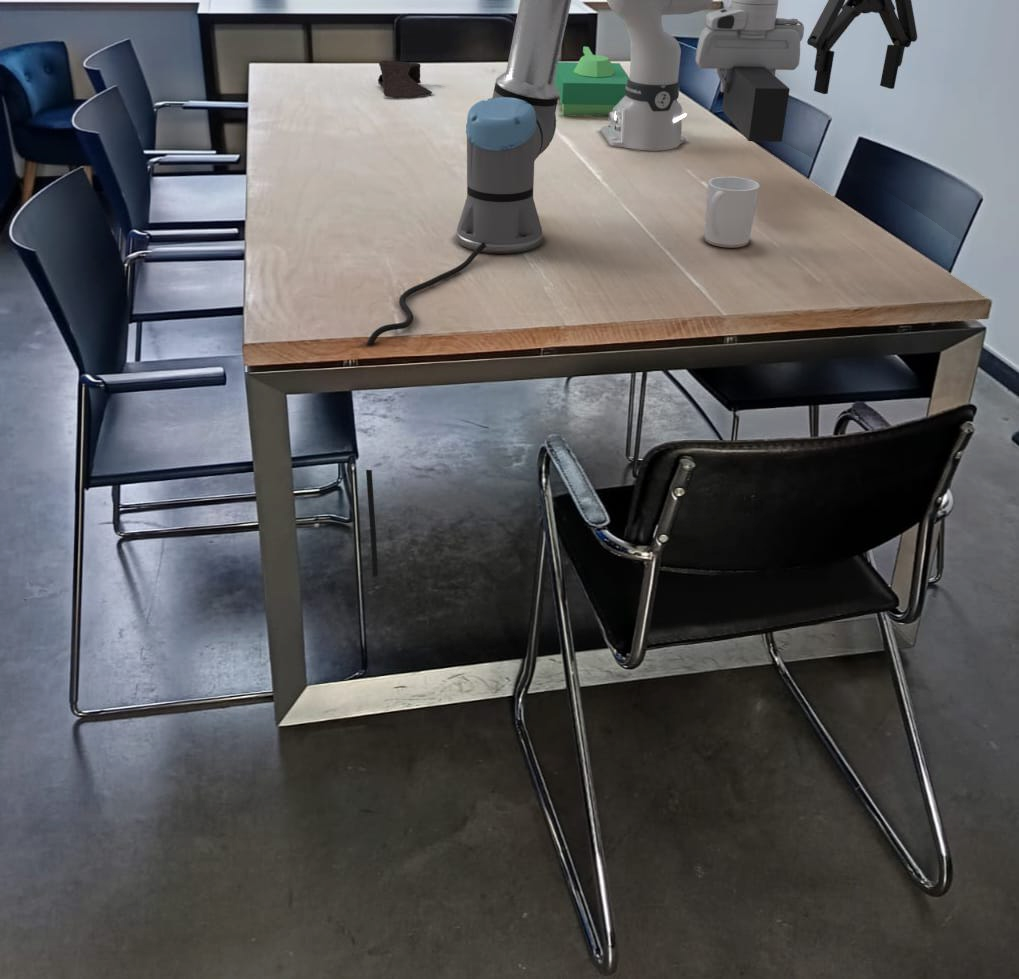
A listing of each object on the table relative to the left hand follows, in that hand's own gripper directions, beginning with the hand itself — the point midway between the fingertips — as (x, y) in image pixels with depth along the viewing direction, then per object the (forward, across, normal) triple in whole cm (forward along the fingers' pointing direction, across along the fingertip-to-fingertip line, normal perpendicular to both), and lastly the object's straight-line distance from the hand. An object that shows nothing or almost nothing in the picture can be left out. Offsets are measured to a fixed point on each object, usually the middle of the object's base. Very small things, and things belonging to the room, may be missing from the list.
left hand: (854, 89), depth 182 cm
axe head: (+27, +31, -147) cm, 153 cm away
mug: (+27, +16, -8) cm, 33 cm away
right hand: (+8, -5, -39) cm, 41 cm away
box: (+13, -2, -31) cm, 33 cm away
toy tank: (+27, -11, -117) cm, 121 cm away
